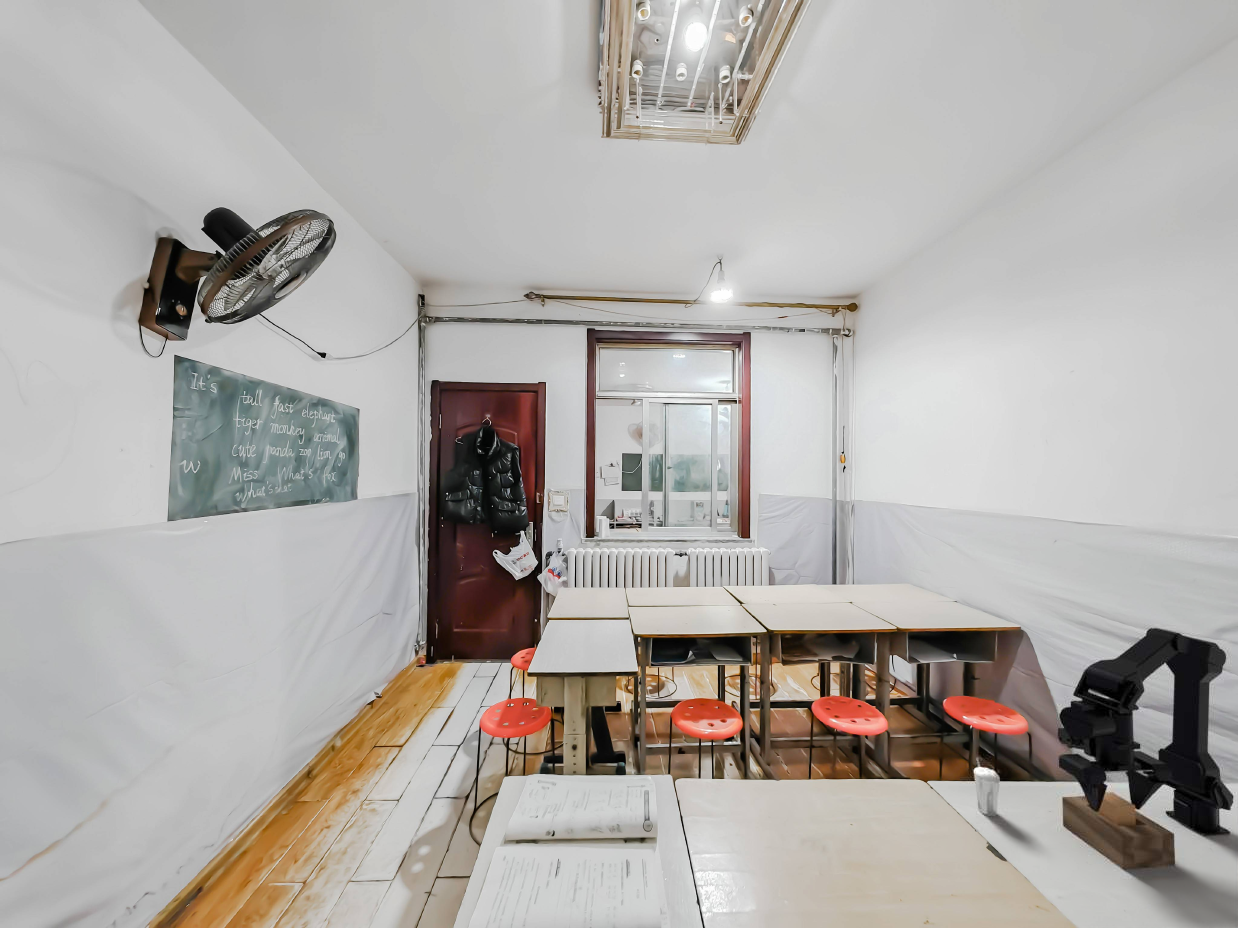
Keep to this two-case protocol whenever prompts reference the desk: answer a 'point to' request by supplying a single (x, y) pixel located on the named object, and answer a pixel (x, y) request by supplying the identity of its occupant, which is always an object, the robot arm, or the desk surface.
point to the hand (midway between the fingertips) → (1115, 809)
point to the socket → (1120, 836)
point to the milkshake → (986, 789)
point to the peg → (1117, 810)
